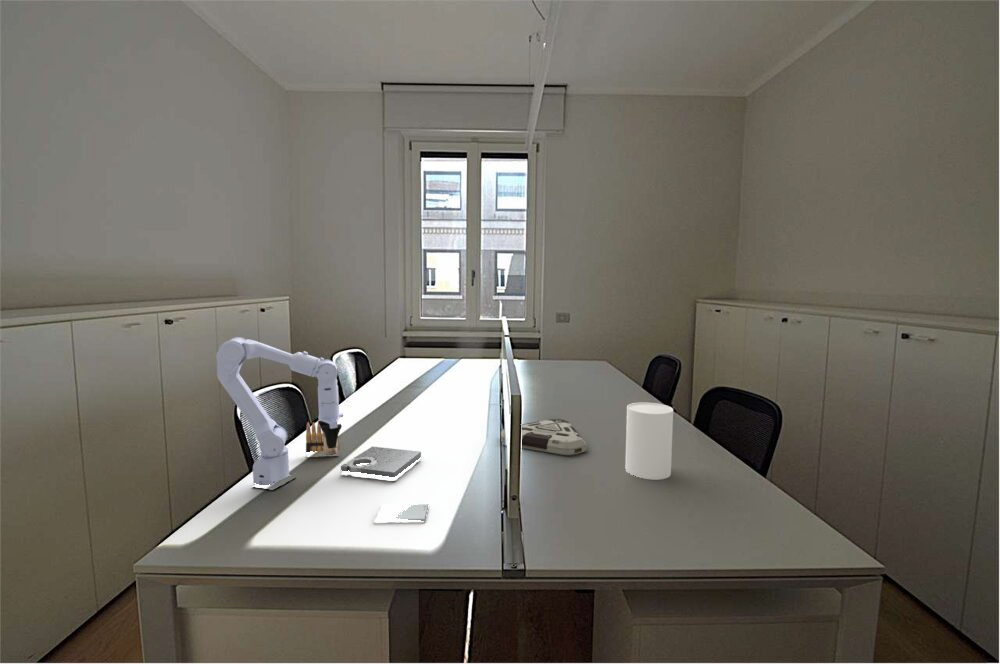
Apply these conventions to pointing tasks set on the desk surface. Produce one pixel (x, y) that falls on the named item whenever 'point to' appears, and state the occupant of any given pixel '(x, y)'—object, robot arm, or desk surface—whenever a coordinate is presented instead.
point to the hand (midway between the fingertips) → (330, 445)
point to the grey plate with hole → (382, 461)
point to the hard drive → (415, 512)
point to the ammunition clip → (314, 439)
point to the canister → (649, 440)
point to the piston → (331, 450)
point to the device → (551, 437)
